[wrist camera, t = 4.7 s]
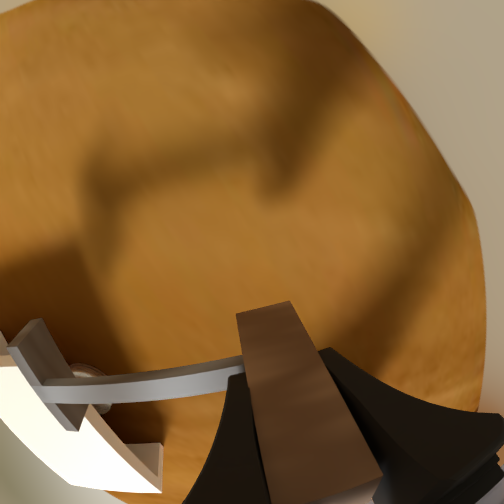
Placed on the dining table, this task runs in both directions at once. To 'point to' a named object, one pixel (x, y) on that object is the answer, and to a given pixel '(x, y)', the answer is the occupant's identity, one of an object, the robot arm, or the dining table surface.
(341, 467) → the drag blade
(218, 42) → the dining table surface
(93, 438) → the white bridge block
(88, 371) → the grey round disc
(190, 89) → the dining table surface
